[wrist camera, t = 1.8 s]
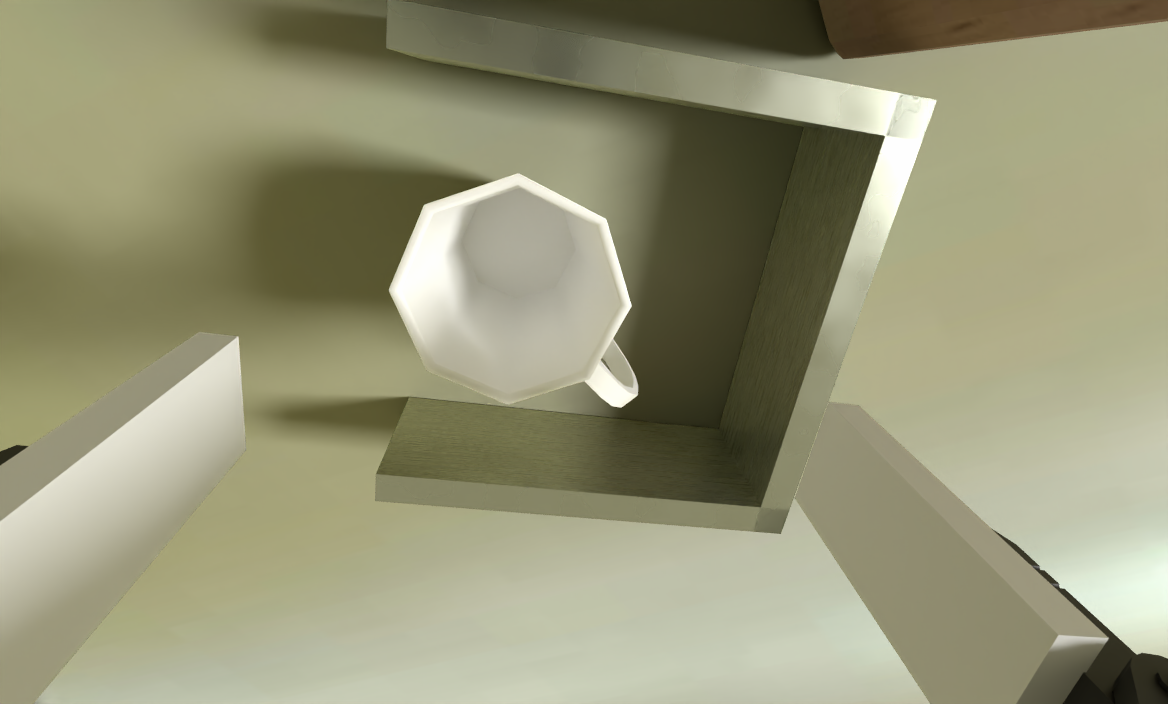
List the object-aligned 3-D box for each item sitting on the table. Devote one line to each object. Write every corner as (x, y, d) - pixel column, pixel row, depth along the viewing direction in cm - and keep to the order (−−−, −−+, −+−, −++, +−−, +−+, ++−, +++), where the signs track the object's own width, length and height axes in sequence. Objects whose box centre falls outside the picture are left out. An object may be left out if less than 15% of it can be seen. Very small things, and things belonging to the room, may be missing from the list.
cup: (526, 109, 22) (521, 114, 15) (678, 297, 26) (734, 377, 19) (397, 228, 24) (334, 287, 16) (558, 391, 27) (565, 501, 20)
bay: (426, 23, 21) (387, -3, 16) (841, 99, 23) (936, 100, 18) (408, 419, 27) (375, 500, 22) (735, 452, 29) (780, 533, 24)
